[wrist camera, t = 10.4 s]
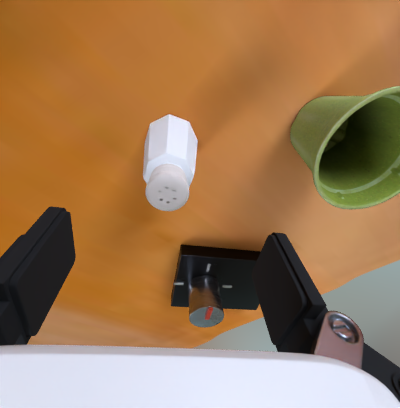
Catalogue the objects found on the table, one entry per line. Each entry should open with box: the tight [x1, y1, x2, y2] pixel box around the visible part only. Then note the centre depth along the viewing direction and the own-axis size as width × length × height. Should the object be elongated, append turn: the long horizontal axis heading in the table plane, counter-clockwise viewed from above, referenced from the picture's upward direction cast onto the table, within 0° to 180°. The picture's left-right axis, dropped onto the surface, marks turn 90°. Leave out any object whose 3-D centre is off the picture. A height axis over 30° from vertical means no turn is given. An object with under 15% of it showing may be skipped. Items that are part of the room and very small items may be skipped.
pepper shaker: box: [143, 114, 198, 211], centre depth 19 cm, size 5×5×11 cm
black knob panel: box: [171, 245, 261, 310], centre depth 35 cm, size 14×11×2 cm
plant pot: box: [290, 86, 400, 209], centre depth 21 cm, size 9×9×9 cm
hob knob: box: [188, 275, 224, 327], centre depth 31 cm, size 4×4×5 cm
